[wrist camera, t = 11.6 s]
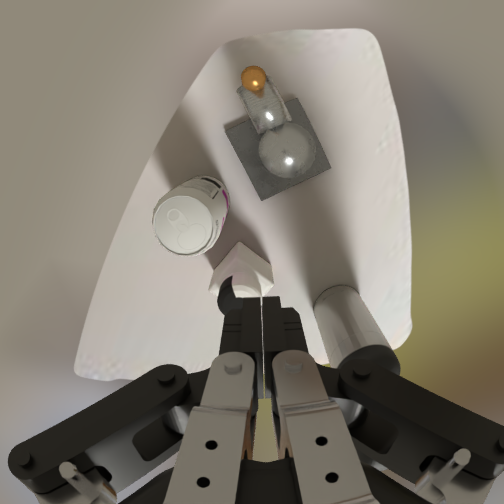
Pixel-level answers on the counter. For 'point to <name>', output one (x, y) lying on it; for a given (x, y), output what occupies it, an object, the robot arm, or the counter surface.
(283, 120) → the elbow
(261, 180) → the grey stand with base
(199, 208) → the supplement can
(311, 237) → the counter surface
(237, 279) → the medicine bottle
